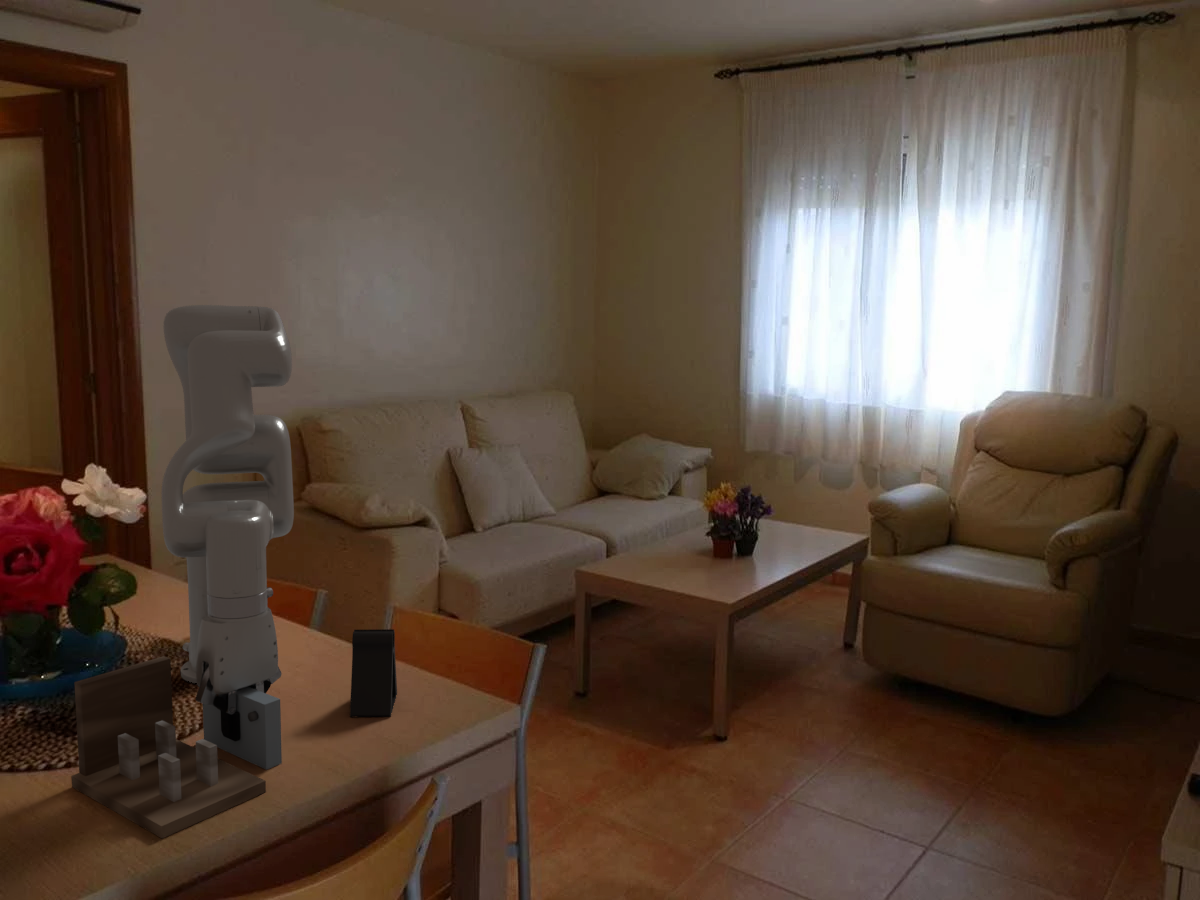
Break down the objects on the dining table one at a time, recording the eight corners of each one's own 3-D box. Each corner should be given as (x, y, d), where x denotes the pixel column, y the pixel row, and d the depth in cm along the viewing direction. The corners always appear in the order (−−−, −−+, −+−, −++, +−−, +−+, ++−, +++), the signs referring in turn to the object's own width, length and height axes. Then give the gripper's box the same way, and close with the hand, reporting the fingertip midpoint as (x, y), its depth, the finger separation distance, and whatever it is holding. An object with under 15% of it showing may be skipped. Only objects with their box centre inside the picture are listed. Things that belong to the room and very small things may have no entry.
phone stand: (390, 717, 149) (389, 640, 147) (349, 718, 149) (348, 640, 147) (397, 694, 158) (397, 621, 156) (359, 694, 157) (358, 621, 156)
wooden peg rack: (71, 786, 126) (66, 684, 124) (174, 748, 137) (170, 654, 135) (162, 838, 114) (157, 726, 112) (265, 791, 126) (263, 689, 124)
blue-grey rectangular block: (198, 743, 139) (196, 681, 138) (219, 735, 142) (217, 674, 140) (261, 771, 131) (259, 706, 130) (281, 763, 134) (280, 699, 132)
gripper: (270, 585, 142) (273, 709, 145) (165, 612, 129) (171, 747, 132) (305, 595, 138) (307, 722, 141) (200, 624, 125) (204, 763, 128)
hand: (241, 733), depth 136 cm, fingers closed on blue-grey rectangular block, 2 cm apart
